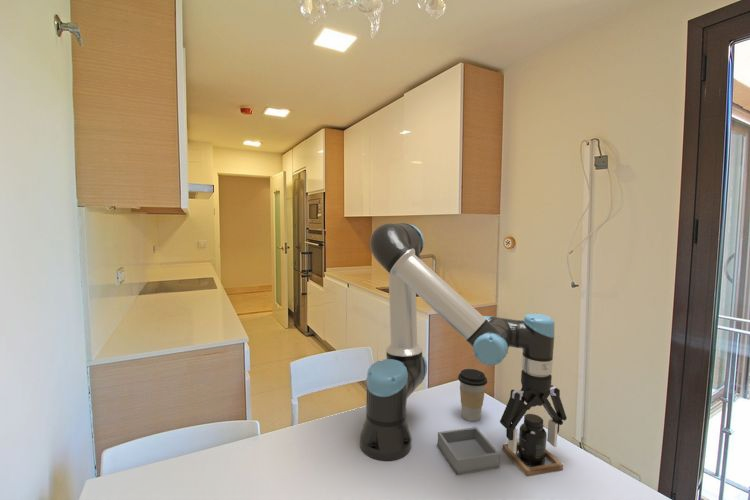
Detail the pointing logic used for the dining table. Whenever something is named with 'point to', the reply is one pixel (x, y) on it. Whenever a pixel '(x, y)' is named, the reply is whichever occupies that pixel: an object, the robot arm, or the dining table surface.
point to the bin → (468, 450)
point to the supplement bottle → (532, 441)
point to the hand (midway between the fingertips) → (532, 446)
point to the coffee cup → (472, 393)
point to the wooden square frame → (537, 469)
